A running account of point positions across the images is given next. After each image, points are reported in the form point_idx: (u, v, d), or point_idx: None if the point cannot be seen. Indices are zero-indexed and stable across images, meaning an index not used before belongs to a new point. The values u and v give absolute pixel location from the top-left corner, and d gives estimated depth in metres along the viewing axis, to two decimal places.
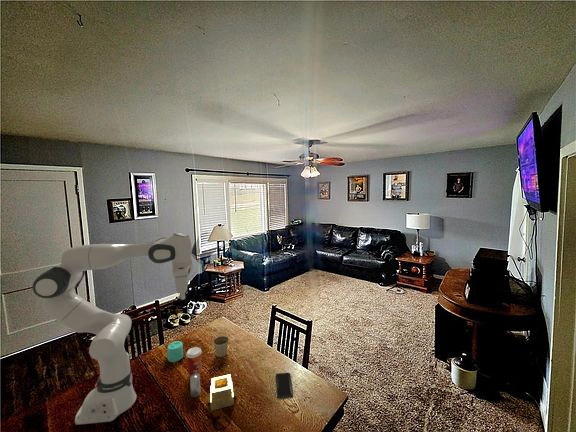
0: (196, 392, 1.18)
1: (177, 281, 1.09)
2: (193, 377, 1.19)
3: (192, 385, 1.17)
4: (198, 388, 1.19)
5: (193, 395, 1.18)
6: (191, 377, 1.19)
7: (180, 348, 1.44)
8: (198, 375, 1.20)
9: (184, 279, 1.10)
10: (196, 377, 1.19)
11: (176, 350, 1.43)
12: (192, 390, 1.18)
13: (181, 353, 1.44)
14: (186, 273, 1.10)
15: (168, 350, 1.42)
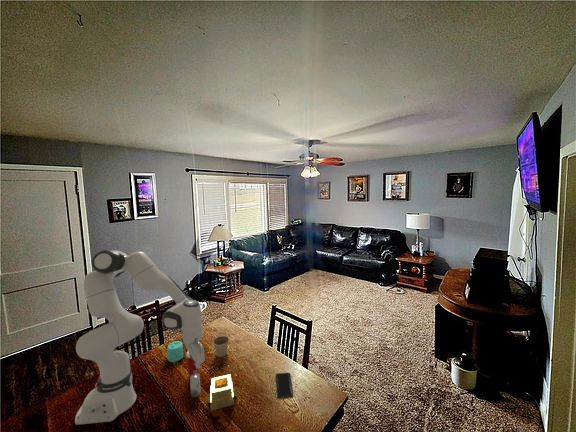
0: (196, 392, 1.18)
1: None
2: (193, 377, 1.19)
3: (192, 385, 1.17)
4: (198, 388, 1.19)
5: (193, 395, 1.18)
6: (191, 377, 1.19)
7: (180, 348, 1.44)
8: (198, 375, 1.20)
9: None
10: (196, 377, 1.19)
11: (176, 350, 1.43)
12: (192, 390, 1.18)
13: (181, 353, 1.44)
14: None
15: (168, 350, 1.42)
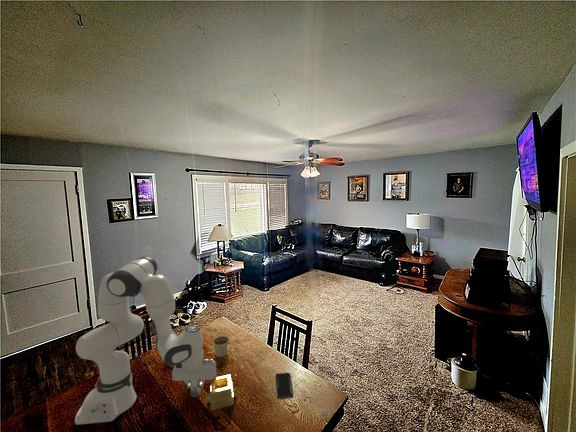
0: (196, 392, 1.18)
1: None
2: None
3: (192, 385, 1.17)
4: (198, 388, 1.19)
5: (193, 395, 1.18)
6: None
7: None
8: None
9: None
10: None
11: None
12: (192, 390, 1.18)
13: None
14: None
15: None
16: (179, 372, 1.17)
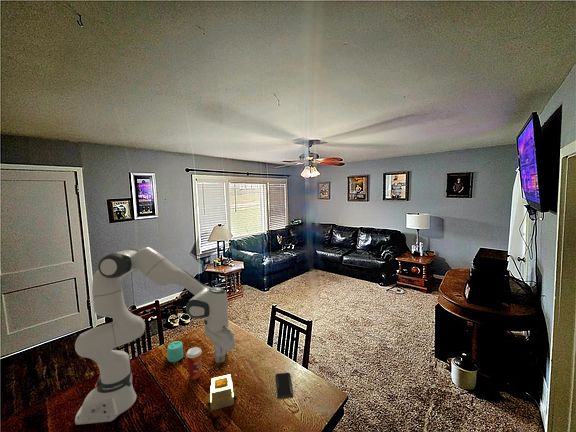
0: (218, 357, 1.13)
1: None
2: None
3: (215, 348, 1.13)
4: (219, 354, 1.13)
5: (215, 359, 1.14)
6: None
7: (180, 348, 1.44)
8: None
9: None
10: None
11: (176, 350, 1.43)
12: (215, 353, 1.14)
13: (181, 353, 1.44)
14: None
15: (168, 350, 1.42)
16: (208, 329, 1.17)
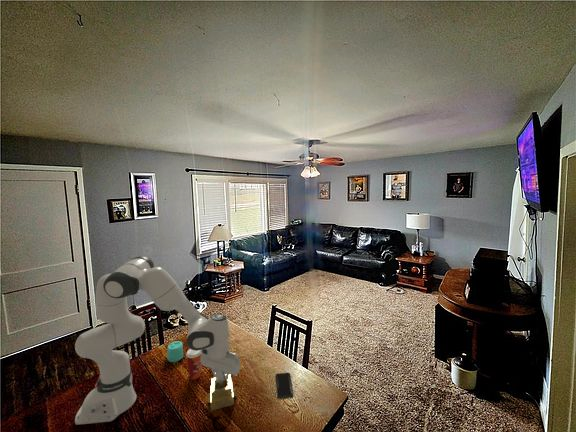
0: (220, 384, 1.13)
1: None
2: None
3: (216, 375, 1.13)
4: (222, 380, 1.14)
5: (217, 386, 1.14)
6: None
7: (180, 348, 1.44)
8: None
9: None
10: None
11: (176, 350, 1.43)
12: (216, 381, 1.14)
13: (181, 353, 1.44)
14: None
15: (168, 350, 1.42)
16: (206, 358, 1.16)
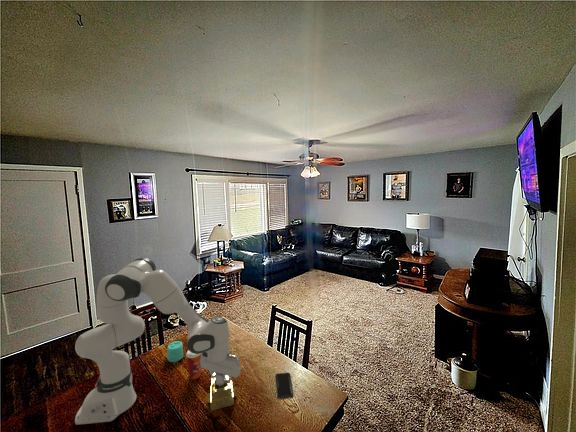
0: None
1: None
2: (218, 373, 1.15)
3: (216, 381, 1.14)
4: (222, 386, 1.14)
5: None
6: (216, 373, 1.15)
7: (180, 348, 1.44)
8: None
9: None
10: (221, 374, 1.15)
11: (176, 350, 1.43)
12: (216, 386, 1.14)
13: (181, 353, 1.44)
14: None
15: (168, 350, 1.42)
16: (206, 361, 1.16)
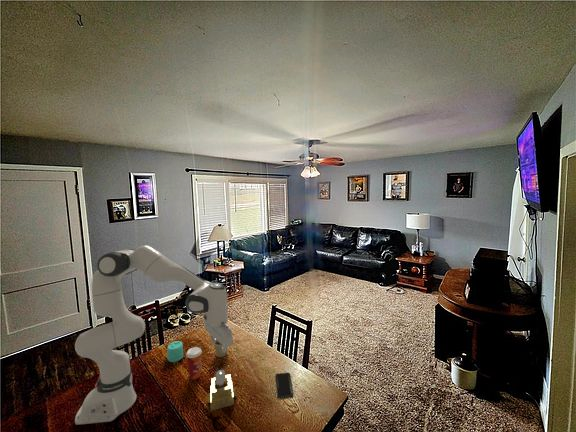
0: None
1: None
2: (218, 373, 1.15)
3: (216, 381, 1.14)
4: (222, 386, 1.14)
5: None
6: (216, 373, 1.16)
7: (180, 348, 1.44)
8: (223, 372, 1.16)
9: None
10: (221, 374, 1.15)
11: (176, 350, 1.43)
12: (216, 386, 1.14)
13: (181, 353, 1.44)
14: None
15: (168, 350, 1.42)
16: (208, 324, 1.18)
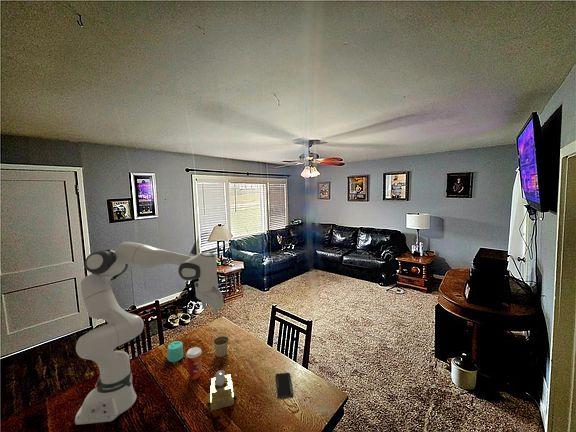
0: None
1: None
2: (218, 374, 1.15)
3: (216, 382, 1.14)
4: (222, 386, 1.14)
5: None
6: (216, 373, 1.15)
7: (180, 348, 1.44)
8: (223, 373, 1.15)
9: None
10: (220, 375, 1.14)
11: (176, 350, 1.43)
12: (216, 387, 1.14)
13: (181, 353, 1.44)
14: None
15: (168, 350, 1.42)
16: (199, 292, 1.28)
